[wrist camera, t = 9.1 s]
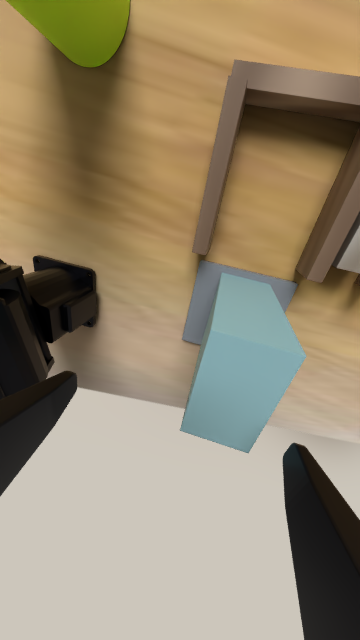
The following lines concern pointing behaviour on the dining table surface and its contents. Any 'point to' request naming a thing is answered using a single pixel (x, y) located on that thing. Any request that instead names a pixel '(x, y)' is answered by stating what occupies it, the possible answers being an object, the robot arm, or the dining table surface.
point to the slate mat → (207, 290)
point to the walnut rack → (297, 96)
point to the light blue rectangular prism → (241, 364)
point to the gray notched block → (350, 249)
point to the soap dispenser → (79, 26)
